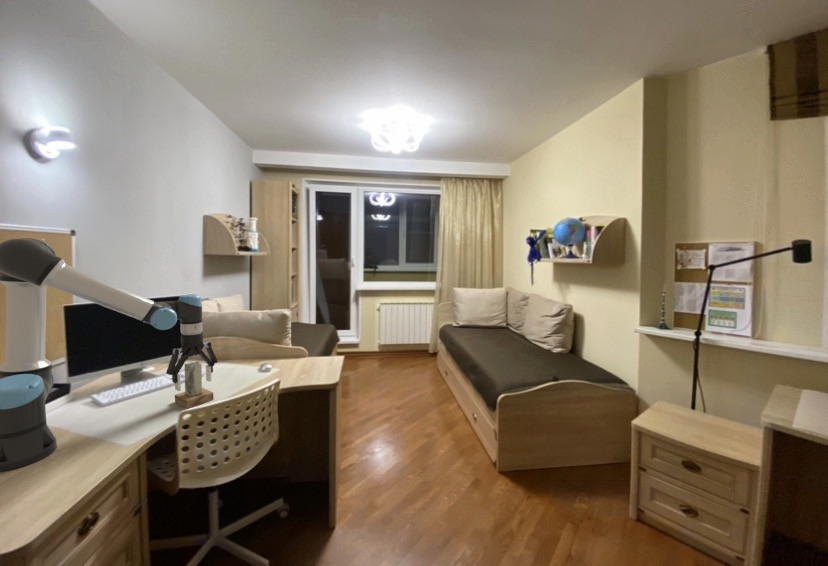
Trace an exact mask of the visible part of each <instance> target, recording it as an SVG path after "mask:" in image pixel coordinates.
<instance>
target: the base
mask: <svg viewBox="0 0 828 566" xmlns="http://www.w3.org/2000/svg"><path fill="white" fill-rule="evenodd" d="M213 400H214V392H212V391H211V390H208V389H206V388H204V387H202V393H201V394H198V395H195V396H189V395H187V394H185V391H183V392H180V393H176V394H174V402H175V403H176V404H178V405H180V406H182V407H184V408H186V409H190V408H193V407H197V406H199V405H201V404H202V405H203V404H205V403H208V402H211V401H213Z"/></svg>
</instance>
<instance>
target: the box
mask: <svg viewBox="0 0 828 566" xmlns="http://www.w3.org/2000/svg"><path fill="white" fill-rule="evenodd" d="M202 372H203V371H202V363H201V362H199V361H197V360H194V361H190V362H189V361H188V362H185V363H184V392H185V394H187V395H189V396H195V395H198V394H201V393H202V388H203V380H202V378H203V377H202V375H203V374H202Z"/></svg>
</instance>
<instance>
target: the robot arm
mask: <svg viewBox="0 0 828 566" xmlns="http://www.w3.org/2000/svg"><path fill="white" fill-rule="evenodd" d="M0 283H1V284H3V285H5V287H6V300H5V301H6V303H5V305H6V307H5V308H6V311H5V317H6V318H5V362H4V363H3V364H1V365H0V472H6V471H11V470H15V469H18V468H21V467H25V466H28V465H31V464H33V463H36V462H38V461H40V460H43V459H44V458H46V457H48V456H49V455H51V454H52V453H54V451H55V450H56V449H57V447H58V444H57V439H56V436H55V435H54V434H53V432H52V430H51V429H50V427H49V426H48V424H47V413H46V412H47V409H46V400H47V398H48V396H49V394H50V393H51V391H52V389H53V387H54V384H55V383H54V382H55V377H54V375H53V371H52V370H53V362H52V361H51V360H49V359H48V358H46V349H47V348H46V342H47V338H46V337H47V294H48V293H47V291H48V290H47V289H48V286H49V287H52V288H54V289H57V290H59V291H62V292H65V293H67V294H70V295H72V296H75V297H78V298H81V299H83V300H86V301H88V302H91V303H93V304H97V305H100V306H101V307H104V308H107V309H109V310H112V311H115V312H117V313H120V314H123V315H125V316H127V317H131V318H134V319H136V320H138V321H141V322H143V323H145V324H149V325H151V326H152V327H154V328H155V329H157V330H160V331H166V330H169V329H172V328H174V326H175V325H176V324H177V322H178V320H179V321H180V324H179V325H180V333H181V335H180V344H181V346H180V348H179V347H177V348H176V347H175V348H172V351H171V352H172V353H171V357H170V361H169V364H168V366H167V369H166V374H167V375H168V376H172V377H171V379H172V381H171V382H172V383H173V384H174V390H175V391H177V392H181V391H182V389H181V387H182V386H181V374H180V371H181V369H182V368H183V367H184V365H185V363H186V361H187V360H188V359H189V358H190V357H191V358H192V357H193V356H198V355H199V357H200V358H202V360H203V361H204V362H205V363H206V364H207V365H205V381H207V382H209V383H211V382H212V373H213V372H214V366H215V364H217V363H218V359H217V356H216V354H215V352H214V350H213V348H212V342H210V341H205V342H204V333H203V331H204V329H203V304H202V303H203V301H202V297H201V295H199V294H193V293H192V294H189V293H188V294H182V295H179V297H178V300H170V301H168V300H167V301H154V300H151V298H147V297H145V296H142V295H140V294H137V293H135V292H133V291H131V290H128V289H126V288H123V287H121V286H119V285H116V284H114V283H112V282H109V281H107V280H105V279H102V278H101V277H98V276H96V275H93V274H90V273H88V272H86V271H83V270H81V269H79V268H76V267H74V266H71V265H69V264H68V263H66V261H65V259H64V258H61V257H60V256H57V255H56V252H55V250H54V249H53V248H52V247H51V246H50V245H49V244H47V243H46V242H44V241H42V240H40V239H36V238H26V237H25V238H22V237H21V238H11V239H7V240H5V241H2V242H0ZM203 348H205V350H206V352H207V354H208V356H209V357H208V356H207V355H206V353H205V352H204V351H203ZM181 352H182V353H181ZM180 354H181V355H180ZM179 356H180V357H179Z"/></svg>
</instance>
